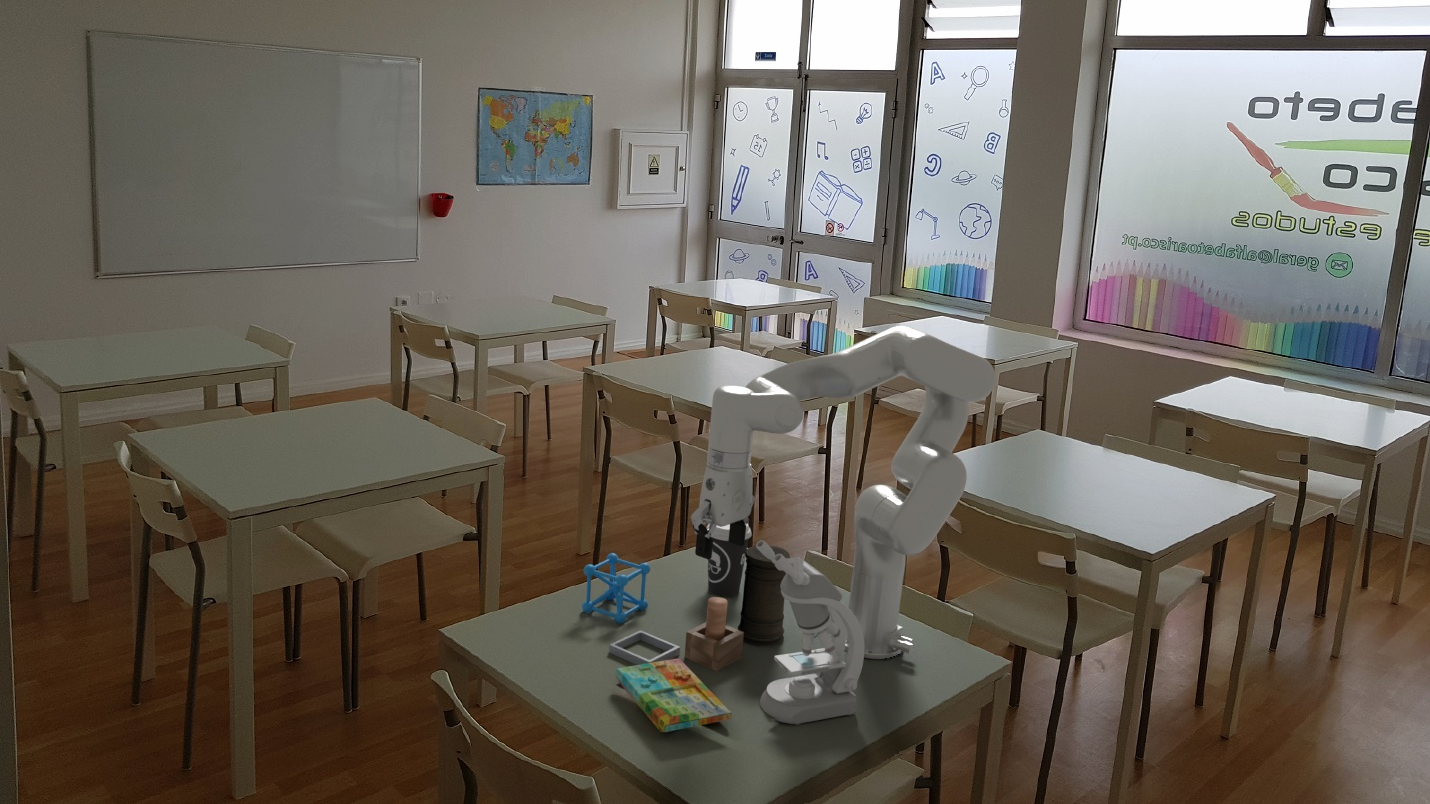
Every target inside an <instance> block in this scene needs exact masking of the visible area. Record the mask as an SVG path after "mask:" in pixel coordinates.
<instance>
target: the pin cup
mask: <svg viewBox="0 0 1430 804" xmlns="http://www.w3.org/2000/svg"><path fill="white" fill-rule="evenodd" d="M705 632H706V621H705V622H703V623H701V624H699V625H698V626H694V627H693V628H692V629H689V630H687V631H686V634H685V647H684V658H685V659H688V660H689V661H692V662H694V663H696V664H699V665H701V666H703V667H705V668H708V669H711V670H713V671H715V672H719V671H720V670H722V669H724V668H726V667H728V666H730V665H731V664H734V663H735V662H737V661H738V660H741V659H742V656H743V647H744V646H743V645H744V642H743V636H744V632H742V631H739V630H738V628H734V627H732V626H730V625H727V624H726V626H725V637H724V638H723V639H721V640H719V641H717V640H715V639H712V638H710V637H707V636H705Z"/></svg>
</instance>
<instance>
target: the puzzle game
mask: <svg viewBox="0 0 1430 804" xmlns="http://www.w3.org/2000/svg"><path fill="white" fill-rule="evenodd" d="M615 677H616V679H617V682H619V684H620V685H621V686H622V687H623V689H624V691H626V693H627V694H628V695H629V697H630V698H631V699H632V701H634V702H635V703H636V704H637V706H638V708H640V709H641V711H642V712H643V713H644V714H645V716H646V717H647V718H648V719H649V720H650V722H652V724H653V725H654V726H655V727H656V729H658V731H659V732H660V733H668V732H673V731H678V730H683V729H687V728H693V727H698V726H703V725H708V724H713V723H718V722H722V721H728V720H729V721H730V720H732V715H733V713H732V712H731V711H730V710H729V709H728V708H727V707H726V706H725V704H723V702H722V701H720V699H719V698H718V697H717V696H716V695H715V694H714V693H713V692H712V691H711V690H710V689H709V688H708V687H707V685H705V684H704V683H703V682H702V680H701V679H700V678H699V677H698V676H697V675H696V674H695V673H694V672H693V671H692V670H691V669H690V668H689V666H687V665H686V663H684V661H682V659H680V658H672V659H670V660H665V661H659V662H653V663H647V664H641V665H636V664H634V665H630V666H623V667H617V668H615Z"/></svg>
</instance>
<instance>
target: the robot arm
mask: <svg viewBox="0 0 1430 804" xmlns="http://www.w3.org/2000/svg"><path fill="white" fill-rule="evenodd" d="M898 377H904V378H906V379H908V380H911V381H913V382H916V383H917V384H919V385H922V386H924V390H925V400H924V405H923V407H922V409H921V412H920V414H919V416H918V418H917V419H916V421H915V423H914V424H913V426H912V427H911V429H910V431H909V432H908V433H907V435H906V437H905V438H904V440H903V441H902V443H901V444H900V445H899V448H898V449H897V450H896V452H895V454H894V456H893V458H892V461H891V466H890V468H891V472H892V475H893V476H894V478H895V479H896V480H897V481H898V482H899V483H900V484H902V485H903V486H905V487H906V488H908V489H909V490H910V491H909V492H908V495H906V494H905V493H903V492H902V491H900V490H899V489H897V488H895V487H893V486H890V485H888V484H874V485H871V486H869V487H867V488H866V489H865V490H863V491H862V492H861V494H860V495H859V497H858V498H857V500H856V503H855V507H854V530H855V532H854V533H855V545H854V557H853V558H854V559H853V565H852V567H853V568H852V576H851V583H850V593H849V602H848V608H849V609H850V610H851V611H852V613H853V614H854V616H855V617H856V619H857V621H858V623H859V625H860V627H861V630H862V633H863V638H864V658H865V659H871V660H884V659H885V658H887V659H891V658H890V657H892V658H894V657H893V656H895V655H897V654H899V655H900V654H902V652H903V653H906V654H909V655H911V654H912V653H913V651H914V649H915V645H914V642H915V640H914V639H913V638H911V637H907V636H904V635H903V633H902V632H903V626H901V625H899V615H900V609H901V607H900V606H901V599H902V592H903V582H904V574H905V568H906V556H913V555H914V556H916V555H917V554H919V553H922V551H924V550H926V548H927V547H928V546H929V545H930V544H931V543H932V542H933V541H934V539H935V537H936V536H937V535H938V534H939V532H940V530H941V529H942V527H943V525H945V522H946V521H947V519H948V518H949V516H950V515H951V514H952V512H953V511H954V509H955V508H956V506H957V504H959V503H958V502H959V501H960V499H961V497H962V495H963V493H964V492H965V489H966V485H967V480H968V476H967V469H966V466H965V464H964V462H963V460H962V459H961V458H960V457H959V456H958V455H956V454H954V453H953V451H954V449H955V447H956V446H957V444H958V442H959V441H960V438H961V437H962V435H963V434H964V431H965V430H966V427H967V425H968V419H969V404H970V403H977V402H981V401H983V400H985V399H986V398H987V397H989V395H990V394H991V392H993V389H994V387H995V384H996V373H995V370H994V367H993V366H992V364H991V363H990V361H989V360H987V359H986V358H985V357H983V356H980V355H977V354H974V353H973V352H970V351H967V350H965V349H962V348H960V347H957V346H954V345H953V344H950V343H948V342H945V341H943V340H941V339H939V338H938V337H935V336H934V335H931V334H928V333H926V332H923V331H920V330H918V329H915V328H913V327H909V326H905V325H897V326H892V327H890V328H887V329H885V330H883V331H880V332H878V333H875V334H874V335H871V336H869V337H868V338H865V339H863V340H861V341H859V342H856V343H855V344H853V345H850V346H847V347H846V348H843V349H841V350H839V351H837V352H833V353H831V354H826V355H819V356H815V357H811V358H807V359H801V360H797V361H792V362H789V363H785V364H783V365H781V366H778V367H775V368H774V369H772V370H769V371H768V372H765V373H763V374H761V375H759V376H757V377H755V378H753V379H752V380H751V381H750V382H748V383H747V385H745V386H740V385H721V386H719V387H717V388H716V389H715V390H714V392H713V395H712V402H711V413H710V423H709V426H710V427H709V434H708V447H707V457H706V466H705V471H704V476H703V479H702V485H701V489H700V496H699V506H698V508H697V509H695V510H694V512H692V513H691V516H690V520H691V523H692V529H693V530H694V534H695V535H696V539H695V552H694V553H695V555H696V556H697V557H699V558H703V559H705V560H708V559H711V557H712V548H713V537H711V535H712V533H713V532H714V530H715V528H716V526H720V527H723V526H726V525H729V524H730V529H729V539H728V540H729V542H731V543H734V544H736V545H739V546H743V545H744V544H745V534H746V525H745V524H747V523H748V524H749V521H750V519H749V517H750V515H751V513H752V511H753V506H754V503H755V500H756V496H755V495H753V489H754V488H753V485H754V484H753V483H754V482H753V467H752V464H751V459H752V448H753V442H754V441H753V440H754V432H763V433H770V434H779V435H781V434H787V433H791V432H792V431H795V430H796V429H797V428H799V426H800V425H801V423H802V421H803V420H804V415H805V413H804V411H805V410H804V407H803V404H802V402H801V401H802V400H809V399H812V398H813V399H814V398H833V399H846V398H847V399H848V398H855V397H857V396H859V395H862V394H864V393H865V392H867V391H870V390H872V389H874V388H876V387H879V386H881V385H882V384H885V383H887V382H889V381H891V380H893V379H896V378H898ZM706 524H707V525H708V524H710V526H709V527H708V529H707V526H706ZM848 650H849V637H848V633H847V630H846V644H845V650H844V652H847V653H848ZM901 651H902V652H901ZM897 656H898V655H897ZM895 657H896V656H895ZM885 660H886V659H885Z"/></svg>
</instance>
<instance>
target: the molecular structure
mask: <svg viewBox="0 0 1430 804" xmlns="http://www.w3.org/2000/svg"><path fill="white" fill-rule="evenodd" d="M617 563H618V564H621V565H625V566H628V567H632V568H634V569H637V570H636V571H633V572H631V573H629V574H628V575H626V574H619V575H617V570H616V564H617ZM608 564H609V573H605V572H603V571H600V570H598V569H599V568H601V567H603V566H605V565H608ZM650 572H651V565H650V564H649V563H647V562H641V563H640V564H637V563H633V562H630V561H627V560H623V559H620V558H619V556H618V555H617V554H616V553H614V552H610V553H609V554H608V555H607V556H606V559H605V560H604V561H602V562H599V563H598V564H595V565H593V564H591V563H590V564H587V565H585V566H584V568H583V573H584V575H585V576H587V577H586V578H587V579H586V581H587V582H586V583H587V584H586V597H585V598H586V599H585V600H584V602H582V604H581V609H582V611H583V612H584V613H587V614H588V613H589V612H590V613H592V611H593V612H597V613H599V614H602V615H606V616H609V617H611V618H613V620H614V622H615V623H616V624H623V623H625V622H626V619H627V617H628V616H629V615H630V614H632V613H634V612H635V611H637V610H639V611H641V612H642V610H643V611H646V610H647V608H648V605H649V604H648V601H647V599H645V593H646V591H645V590H646V578H647V575H648V574H649V573H650ZM640 574H641V588H640V599H637V597H635V596H633V595H631V594H630V593H628V592H627V591H625V590H624V589H625V587H626V586H627V585H628V583H629V582H630V581H632V580H633V579H634V578H636V577H637V576H640ZM593 576H595V577H596V578H597V579H599V580H601V581H602V582H603V583H605V584H606V585H608V589H606V590H605V592H604V593H603V594H601V595H600V596H599V597H597V598H596V599H594V600H593V601H591V588H592V587H591V586H592V577H593ZM605 600H607V601H613V600H615V603H616V612H615V613H613V612H611V611H608V610H605V609H601V608H598V607H596V605H597V604H599V603H601V602H603V601H605ZM623 602H626V603H630V604H633V605H635V606H633V607H632V608H631V609H628V610H627V611H625V612H624V611H623V607H624V603H623Z"/></svg>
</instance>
